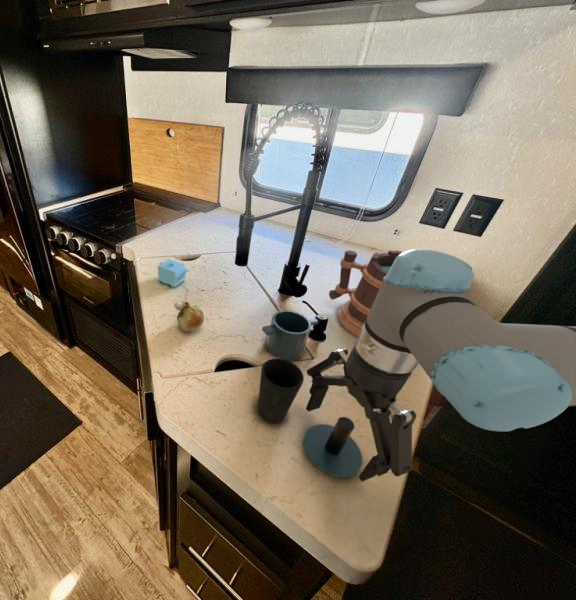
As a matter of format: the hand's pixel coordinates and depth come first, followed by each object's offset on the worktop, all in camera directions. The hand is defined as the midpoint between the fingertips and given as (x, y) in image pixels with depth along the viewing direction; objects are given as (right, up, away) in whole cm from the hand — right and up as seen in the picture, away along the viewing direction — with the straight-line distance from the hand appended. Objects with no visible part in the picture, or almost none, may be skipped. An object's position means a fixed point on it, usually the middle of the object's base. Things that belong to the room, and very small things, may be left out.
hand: (337, 439), depth 56 cm
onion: (-25, +17, +32) cm, 44 cm away
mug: (+26, +19, +35) cm, 47 cm away
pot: (-1, +13, +25) cm, 28 cm away
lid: (0, -3, +2) cm, 3 cm away
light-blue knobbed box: (-30, +31, +51) cm, 67 cm away
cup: (-9, +2, +9) cm, 13 cm away
